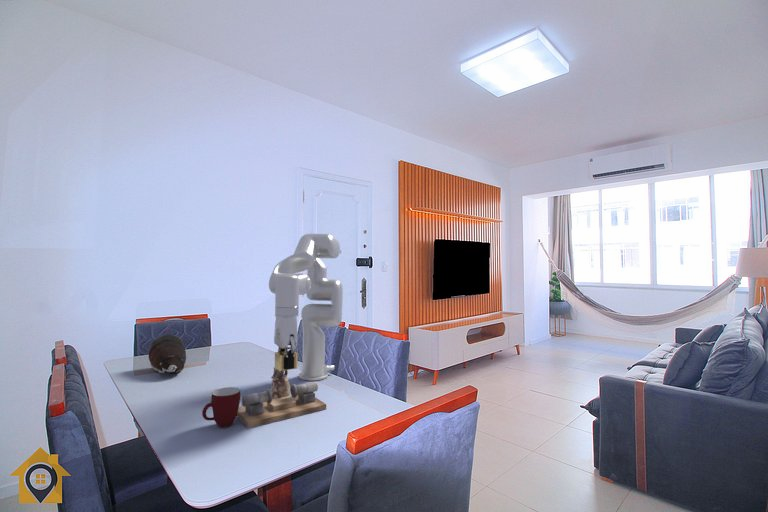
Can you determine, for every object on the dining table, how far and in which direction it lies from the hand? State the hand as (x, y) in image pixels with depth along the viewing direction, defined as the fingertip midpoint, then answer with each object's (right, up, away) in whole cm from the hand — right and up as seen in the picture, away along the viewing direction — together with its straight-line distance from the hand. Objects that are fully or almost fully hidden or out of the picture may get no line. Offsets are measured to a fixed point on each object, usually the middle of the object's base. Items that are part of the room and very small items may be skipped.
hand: (286, 366), depth 124 cm
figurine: (-6, -16, +14) cm, 22 cm away
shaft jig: (-2, -15, 0) cm, 15 cm away
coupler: (0, -1, 0) cm, 1 cm away
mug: (-16, -15, -12) cm, 25 cm away
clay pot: (-63, -16, +43) cm, 78 cm away
